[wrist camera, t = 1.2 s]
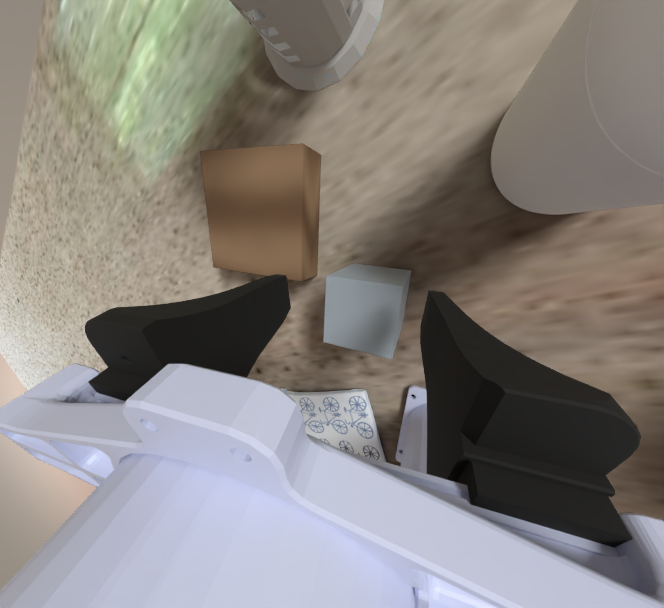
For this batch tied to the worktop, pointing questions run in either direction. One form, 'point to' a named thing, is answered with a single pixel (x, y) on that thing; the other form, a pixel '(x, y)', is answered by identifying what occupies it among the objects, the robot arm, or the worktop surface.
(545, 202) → the pill bottle
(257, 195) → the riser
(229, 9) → the worktop surface
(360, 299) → the slate cube
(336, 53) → the french press
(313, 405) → the white bicycle print cloth
